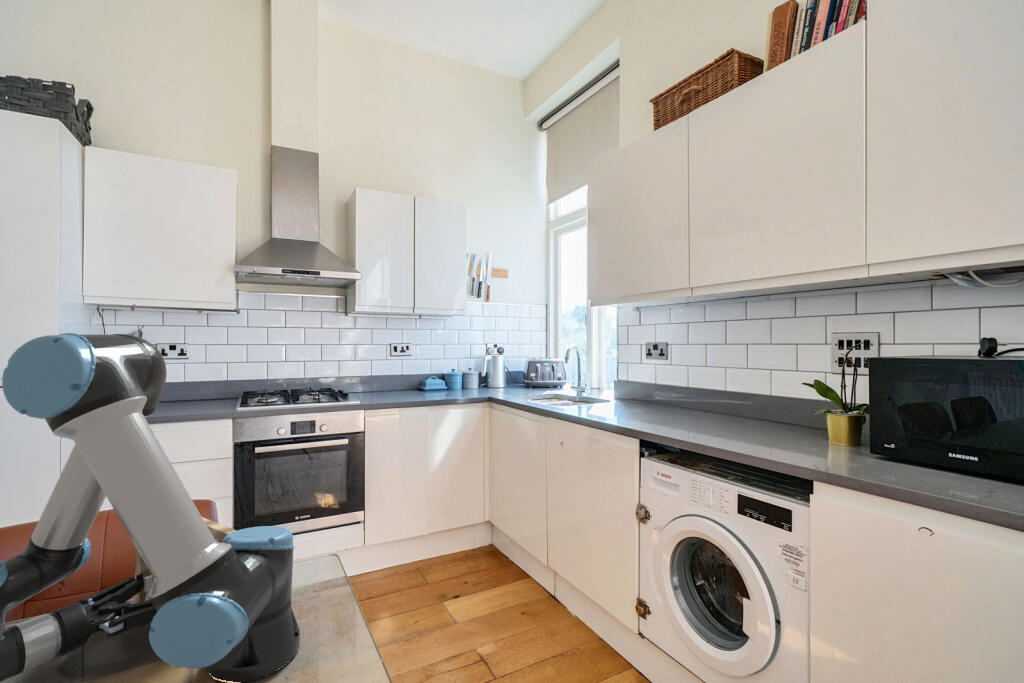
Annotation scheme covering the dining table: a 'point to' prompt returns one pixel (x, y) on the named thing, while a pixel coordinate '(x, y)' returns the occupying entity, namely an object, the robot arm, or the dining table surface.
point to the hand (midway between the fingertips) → (192, 578)
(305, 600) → the dining table surface
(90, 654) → the dining table surface
